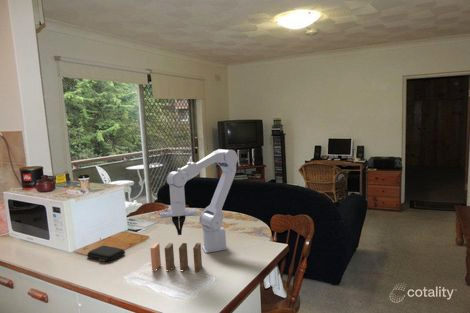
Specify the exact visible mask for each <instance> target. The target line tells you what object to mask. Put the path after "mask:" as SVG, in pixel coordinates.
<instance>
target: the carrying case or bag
mask: <svg viewBox="0 0 470 313" xmlns="http://www.w3.org/2000/svg"><path fill="white" fill-rule="evenodd" d="M125 254H126V251H125V250H124V249H123V248H119V247H114V246H109V245H101V246H99V247H96V248H94V249H92V250H90V251H88V253H87V254H86V256H87V257H88V259H93V260H96V261H99V262H107V263H111V262H113V261H116V260H118V259H119V258H121V257H123V256H125Z"/></svg>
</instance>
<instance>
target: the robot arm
mask: <svg viewBox="0 0 470 313" xmlns="http://www.w3.org/2000/svg"><path fill="white" fill-rule="evenodd" d="M238 161H239V156H238V154H237V152H236V151H235V150H234V149H222V148H218V149H216V150H214V151H212V152H211V153H210V154H208V155H207V156H205V157H203V158H202V159H200V160H198V161H196V162H194V161H188V162H187V163H186V165H184V166H183V167H178V168H177V169H176V171H175V170H174V171H170V172H169V173H168V175H167V178H165V179H166V182H167V185H169V198H170V199H169V200H170V211H164V212H159V219H160V220H161V219H167V218H171V221H172V224H173V225H174V227H175V229H176V232H177V236H181V235H182V232H183V227H184V224H185V221H186V217H191V216H192V217H198V212H197V209H190V210H189V209H186V196H185V185H186V183H187V182H188V181H190V180H192V179H193V178H195V177H196V176H198V175H200V172H201V171H202V170H203V169H206V168H207V167H209V166H211V165H213V164H215V163H216V164H217V165H218V166H219V167H220V169H221V171H222V173H221V176H220V178H219V181H218V183H217V186H216V188H215V191H214V193H213V196H212V198H211V200H210V201H211V202H210V204H209V205H208V206H206V207H205V208H204V209H203V210H204V211H202V213H201V214H200V216H199V223H200V225H202V226H201V228H202V234H203V236H202V237H203V238H202V239H203V245H202V244H201V249H203V251H204V253H205V254H208V253H212V252H218V251H225V250H228V248H227V236H226V230H225V228H224V226H223V221H224V220H223V219H224V216H225V215H224V211H223V206H224V204H225V201H226V199H227V196H228V194H229V192H230V189H231V186H232V184H233V181H234V179H235V176H236V173H237V164H238Z"/></svg>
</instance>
